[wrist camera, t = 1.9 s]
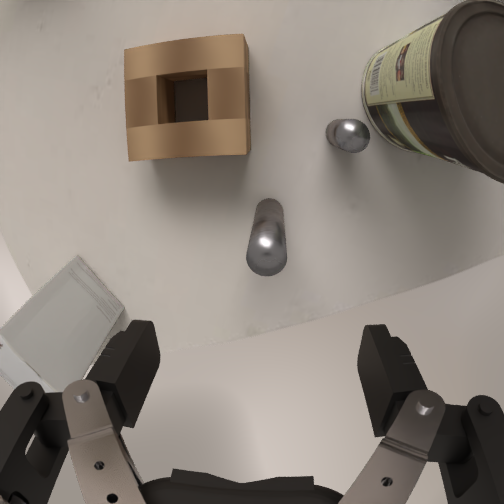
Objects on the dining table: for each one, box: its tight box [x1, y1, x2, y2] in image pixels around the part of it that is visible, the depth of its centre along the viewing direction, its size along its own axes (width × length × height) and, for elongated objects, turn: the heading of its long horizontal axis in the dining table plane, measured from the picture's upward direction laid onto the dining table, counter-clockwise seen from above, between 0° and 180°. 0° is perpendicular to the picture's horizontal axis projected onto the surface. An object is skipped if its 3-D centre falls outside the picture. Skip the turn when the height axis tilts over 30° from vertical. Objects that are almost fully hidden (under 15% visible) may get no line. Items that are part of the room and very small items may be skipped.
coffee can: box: [362, 0, 504, 183], centre depth 17 cm, size 10×10×14 cm
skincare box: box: [0, 255, 124, 393], centre depth 27 cm, size 8×6×15 cm
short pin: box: [326, 119, 370, 153], centre depth 23 cm, size 2×2×5 cm
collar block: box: [124, 34, 251, 161], centre depth 23 cm, size 9×9×4 cm
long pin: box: [246, 198, 287, 276], centre depth 24 cm, size 2×2×10 cm
